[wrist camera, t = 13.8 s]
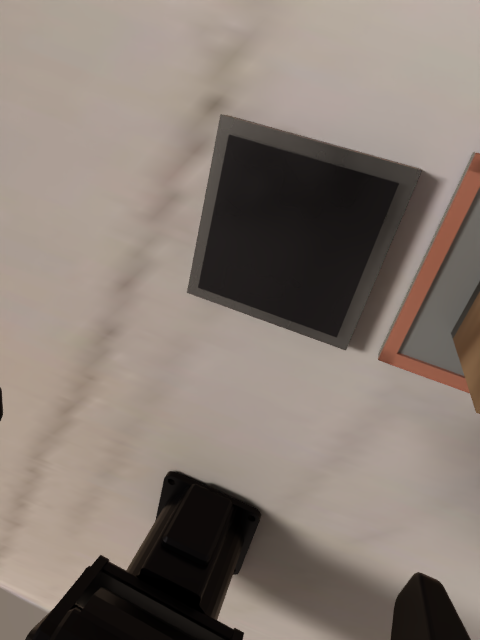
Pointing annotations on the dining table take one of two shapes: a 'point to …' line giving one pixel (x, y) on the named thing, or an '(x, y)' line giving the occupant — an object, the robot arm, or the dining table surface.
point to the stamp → (470, 345)
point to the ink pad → (296, 228)
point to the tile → (440, 291)
